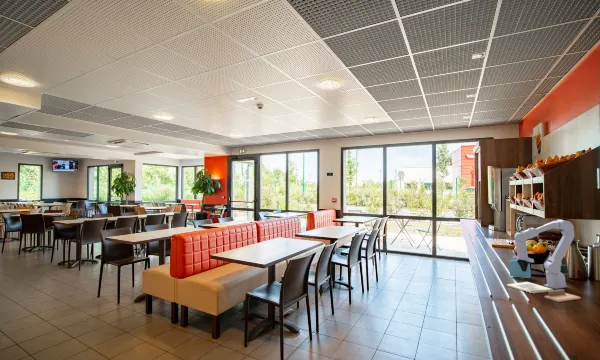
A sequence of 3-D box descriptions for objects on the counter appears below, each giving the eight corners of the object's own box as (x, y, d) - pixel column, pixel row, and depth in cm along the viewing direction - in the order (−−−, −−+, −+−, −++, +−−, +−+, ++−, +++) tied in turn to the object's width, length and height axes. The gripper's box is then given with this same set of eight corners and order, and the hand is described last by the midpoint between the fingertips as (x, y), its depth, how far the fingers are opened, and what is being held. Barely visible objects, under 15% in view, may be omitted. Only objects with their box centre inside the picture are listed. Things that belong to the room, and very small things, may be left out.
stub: (566, 294, 178) (565, 288, 179) (580, 298, 170) (579, 292, 171) (544, 297, 176) (543, 291, 176) (558, 302, 168) (557, 295, 168)
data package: (531, 277, 216) (529, 260, 217) (530, 279, 213) (528, 262, 214) (511, 275, 224) (509, 259, 225) (510, 277, 221) (508, 260, 222)
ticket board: (527, 283, 204) (526, 281, 205) (553, 290, 187) (552, 288, 187) (506, 285, 202) (506, 284, 202) (530, 293, 184) (530, 291, 184)
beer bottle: (566, 278, 209) (561, 243, 211) (572, 281, 202) (567, 245, 203) (552, 278, 211) (548, 243, 213) (558, 281, 204) (553, 245, 206)
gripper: (507, 249, 208) (510, 269, 207) (526, 253, 194) (528, 274, 193) (516, 248, 209) (518, 268, 208) (535, 252, 195) (538, 273, 194)
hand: (524, 271), depth 200 cm, fingers closed
